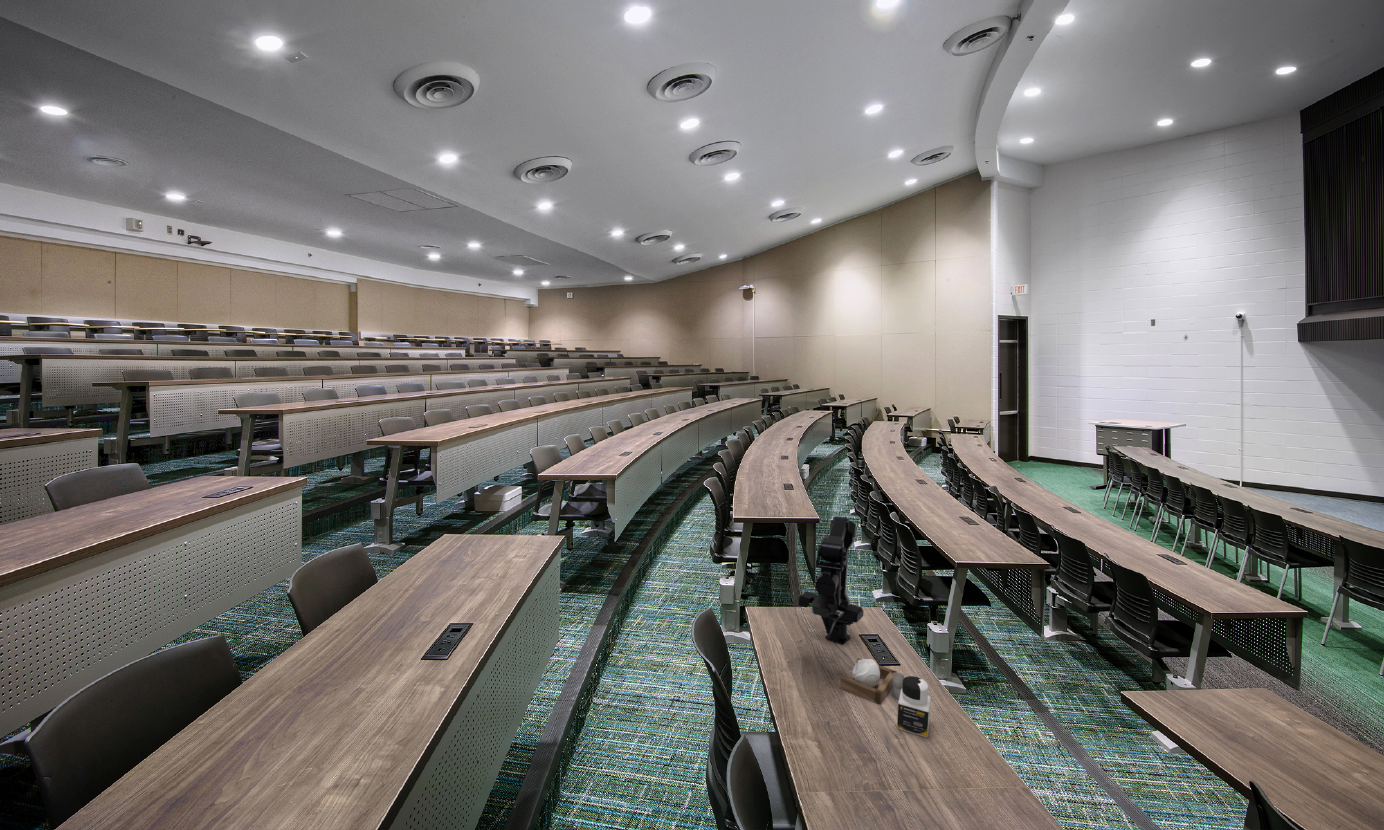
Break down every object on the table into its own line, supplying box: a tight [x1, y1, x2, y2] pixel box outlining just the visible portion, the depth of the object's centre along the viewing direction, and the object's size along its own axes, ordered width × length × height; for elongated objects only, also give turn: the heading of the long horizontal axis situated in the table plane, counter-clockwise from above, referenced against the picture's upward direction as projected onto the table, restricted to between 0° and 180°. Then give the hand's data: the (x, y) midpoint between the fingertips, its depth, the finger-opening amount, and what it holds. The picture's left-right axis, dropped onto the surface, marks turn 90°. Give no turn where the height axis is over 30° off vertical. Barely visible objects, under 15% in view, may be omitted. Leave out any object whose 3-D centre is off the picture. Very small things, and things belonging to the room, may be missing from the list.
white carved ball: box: [851, 658, 881, 688], centre depth 152 cm, size 8×8×8 cm
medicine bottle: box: [896, 675, 932, 738], centre depth 135 cm, size 7×7×12 cm
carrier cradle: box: [839, 657, 905, 705], centre depth 151 cm, size 14×16×6 cm
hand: (828, 633), depth 159 cm, fingers closed
